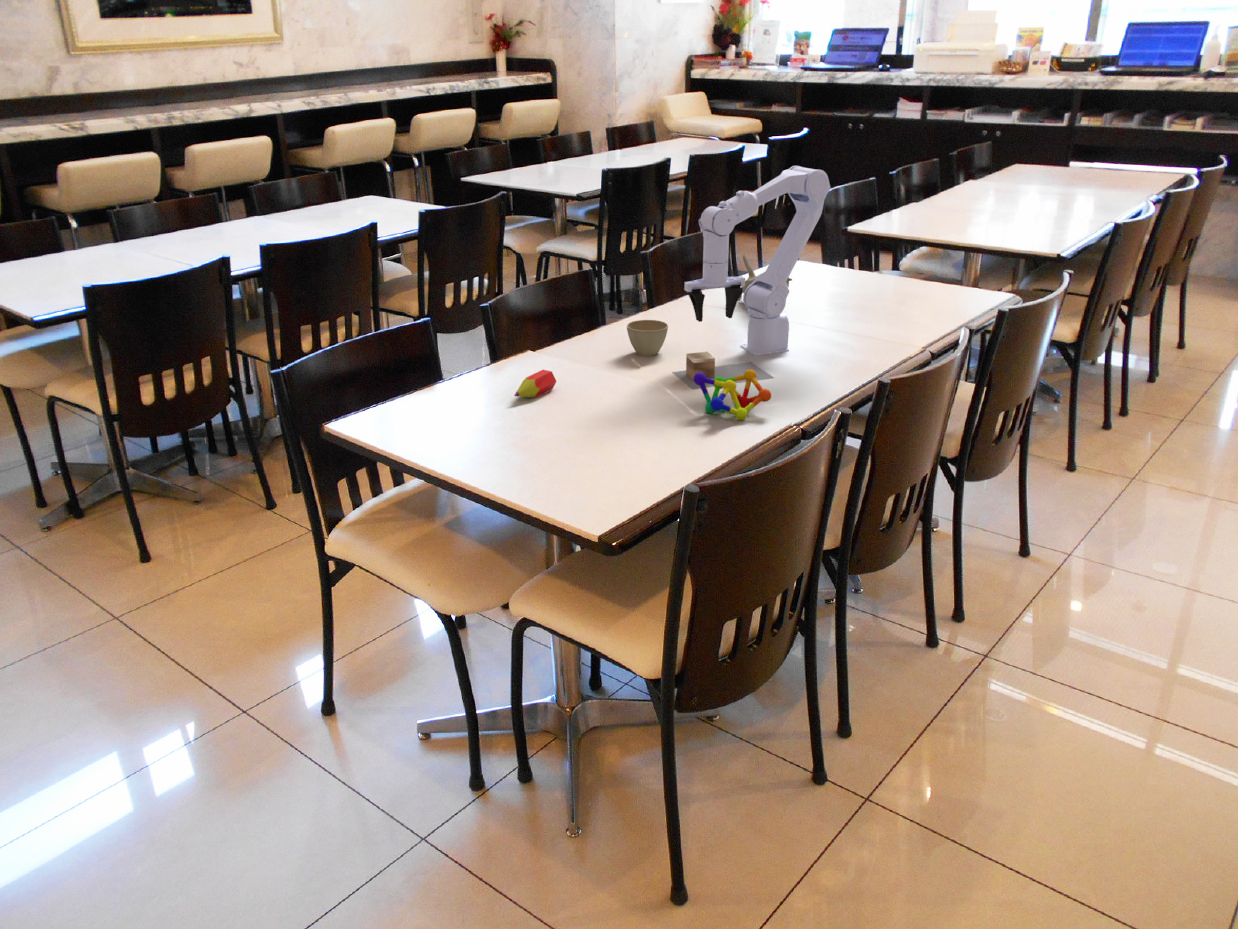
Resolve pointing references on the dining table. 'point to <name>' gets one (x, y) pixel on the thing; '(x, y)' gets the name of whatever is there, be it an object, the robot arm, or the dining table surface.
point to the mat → (727, 373)
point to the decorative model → (732, 394)
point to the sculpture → (752, 275)
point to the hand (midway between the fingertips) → (714, 318)
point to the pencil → (536, 384)
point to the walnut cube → (700, 364)
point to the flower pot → (647, 336)
